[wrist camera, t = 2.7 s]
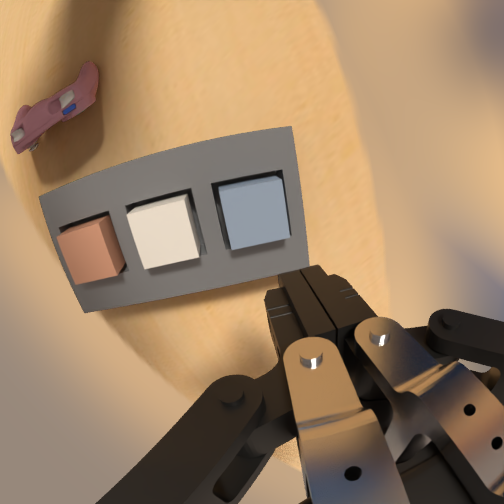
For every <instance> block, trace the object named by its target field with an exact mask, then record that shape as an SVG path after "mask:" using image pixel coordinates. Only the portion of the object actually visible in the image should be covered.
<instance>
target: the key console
mask: <svg viewBox="0 0 504 504" xmlns="http://www.w3.org/2000/svg"><path fill="white" fill-rule="evenodd" d="M273 175H275V176H277V177H278V178H280V179H282V184H283V191H284V198H285V205H286V212H287V219H288V226H289V233H290V238H286V239H282V240H277V241H272V242H268V243H263V244H258V245H254V246H249V247H244V248H240V249H235V250H232V249H231V245H230V240H229V236H228V231H227V227H226V222H225V218H224V213H223V208H222V204H221V199H220V194H219V187H218V186H222V185H227V184H231V183H236V182H241V181H246V180H251V179H257V178H262V177H268V176H273ZM187 193H188V197H189V202H190V206H191V210H192V214H193V218H194V222H195V226H196V230H197V233H198V237H199V241H200V245H201V246H200V255H199V257H198V258H194V259H189V260H185V261H180V262H176V263H171V264H167V265H162V266H158V267H153V268H149V269H144V267H143V264H142V261H141V258H140V255H139V253H138V250H137V247H136V244H135V241H134V238H133V234H132V231H131V228H130V225H129V222H128V218H127V214H128V213H129V212H130V211H131V210H133V209H134V208H135V207H137V206H141V205H144V204H148V203H151V202H155V201H159V200H163V199H167V198H171V197H175V196H179V195H183V194H187ZM39 200H40V204H41V207H42V210H43V214H44V217H45V220H46V223H47V226H48V229H49V232H50V235H51V238H52V241H53V243H54V246H55V249H56V251H57V254H58V256H59V259H60V261H61V264H62V266H63V269H64V271H65V273H66V276H67V278H68V280H69V282H70V285H71V287H72V289H73V291H74V293H75V295H76V297H77V299H78V301H79V303H80V305H81V307H82V309H83V311H84V313H88V312H94V311H100V310H106V309H111V308H117V307H123V306H128V305H134V304H139V303H144V302H150V301H155V300H160V299H165V298H170V297H176V296H181V295H186V294H191V293H196V292H200V291H205V290H210V289H215V288H220V287H224V286H229V285H234V284H238V283H243V282H248V281H252V280H257V279H261V278H266V277H270V276H274V275H278V274H280V273H284V272H289V271H293V270H297V269H298V270H299V269H301V268H306V267H310V266H309V255H308V245H307V235H306V226H305V217H304V208H303V200H302V193H301V185H300V178H299V171H298V164H297V157H296V150H295V144H294V138H293V132H292V126H288V127H280V128H272V129H266V130H259V131H253V132H247V133H241V134H236V135H230V136H225V137H220V138H215V139H210V140H206V141H201V142H197V143H193V144H189V145H185V146H181V147H177V148H173V149H169V150H165V151H162V152H158V153H155V154H151V155H148V156H144V157H141V158H138V159H135V160H131V161H128V162H125V163H122V164H119V165H116V166H113V167H110V168H108V169H105V170H102V171H99V172H96V173H94V174H91V175H89V176H86V177H83V178H81V179H78V180H76V181H73V182H71V183H69V184H66V185H64V186H61V187H59V188H57V189H55V190H52V191H50V192H48V193H46V194H44V195H41V196H39ZM106 215H110V218H111V221H112V224H113V227H114V230H115V233H116V236H117V239H118V242H119V245H120V248H121V251H122V254H123V256H124V259H125V262H126V263H125V264H124V266H123V267H122V269H121V271H120V272H119V274H118V275H117V276H113V277H108V278H104V279H99V280H95V281H91V282H86V283H82V284H77V285H76V284H75V282H74V280H73V278H72V275H71V273H70V271H69V268H68V266H67V264H66V261H65V259H64V256H63V254H62V251H61V248H60V246H59V243H58V240H57V236H59V235H60V234H61V233H63V232H64V231H65V230H67V229H68V228H70V227H73V226H76V225H79V224H82V223H85V222H88V221H91V220H94V219H97V218H100V217H103V216H106Z"/></svg>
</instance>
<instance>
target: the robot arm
mask: <svg viewBox="0 0 504 504" xmlns="http://www.w3.org/2000/svg"><path fill="white" fill-rule="evenodd" d="M278 281H279V288H276V289H272V290H267V293H266V296H265V299H264V302H265V307H266V312H267V318H268V323H269V328H270V333H271V337H272V340H273V343H274V346H275V350H276V353H277V356H278V360H279V361H278V363H277V364H276V366H275V367H274V368H273V369H272V370H271V371H269V372H268V373H266V374H265V375H263V376H261V377H259V378H257V379H255V380H254V379H252V378H250V377H248V376H244V375H229V376H225V377H222V378H220V379H218V380H216V381H215V382H213V383H212V384H211V385H210V386H209V387H208V388H207V389H206V390H205V391H204V393H203V394H202V395H201V396H200V397H199V398H198V399H197V401H196V402H195V403H194V404H193V405H192V406H191V407H190V408H189V410H188V411H187V412H186V413H185V414H184V415H183V416H182V418H180V419H179V421H178V422H177V423H176V424H175V425H174V426H173V427H172V428H171V429H170V430H169V432H167V434H166V435H165V436H164V437H163V438H162V439H161V440H160V441H159V442H158V443H157V444H156V445H155V446H154V447H153V448H152V450H150V451H149V452H148V454H146V455H145V457H143V458H142V459H141V461H140V462H139V463H138V464H137V465H136V466H134V467H133V468H132V469H131V470H130V472H128V473H127V475H125V476H124V477H123V478H122V479H121V480H120V481H119V482H118V483H117V484H116V485H115V486H114V487H113V488H112V489H111V490H110V491H109V492H108V493H106V494H105V495H104V496H103V497H102V498H101V499H100V500H99V501H98V502H96V504H238V503H239V502H240V500H241V499H242V498H243V496H244V495H245V494H246V492H247V491H248V489H249V488H250V487H251V485H252V484H253V483H254V481H255V480H256V478H257V477H258V475H259V474H260V472H261V471H262V469H263V468H264V466H265V465H266V463H267V462H268V460H269V459H270V457H271V456H272V454H273V453H274V451H275V448H277V447H279V446H281V445H282V444H284V443H286V442H288V441H289V440H291V439H293V438H295V437H296V440H297V446H298V451H299V456H300V461H301V467H302V473H303V479H304V485H305V490H306V496H307V499H305V500H304V501H302V502H301V503H299V504H504V322H502V321H498V320H494V319H489V318H485V317H481V316H477V315H473V314H469V313H465V312H461V311H457V310H452V309H441V310H438V311H436V312H434V313H433V314H432V315H431V316H430V318H429V322H428V326H422V327H415V328H405V329H404V328H403V327H402V326H401V325H400V324H399V323H397V322H396V321H394V320H392V319H389V318H385V317H378V316H377V315H376V314H375V313H374V311H373V310H372V309H371V308H370V307H369V306H368V304H367V303H366V302H365V301H364V300H363V299H362V297H361V296H360V295H358V293H357V292H356V290H355V289H353V288H352V286H351V285H350V284H349V282H348V281H347V280H346V279H344V278H342V277H340V276H338V275H336V274H333V275H329V276H328V275H327V274H326V273H325V272H324V270H323V269H322V268H321V267H320V266H319V265H314V266H310V267H306V268H301V269H299V270H298V269H297V270H293V271H289V272H284V273H280V274H278ZM459 359H464V360H467V361H471V362H475V363H479V364H482V365H486V366H490V367H491V369H490V370H489V371H487V372H485V373H480V372H476V371H472V370H469V369H468V368H467V367H466V366H464V365H463V364H462V363H460V362H458V360H459Z"/></svg>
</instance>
